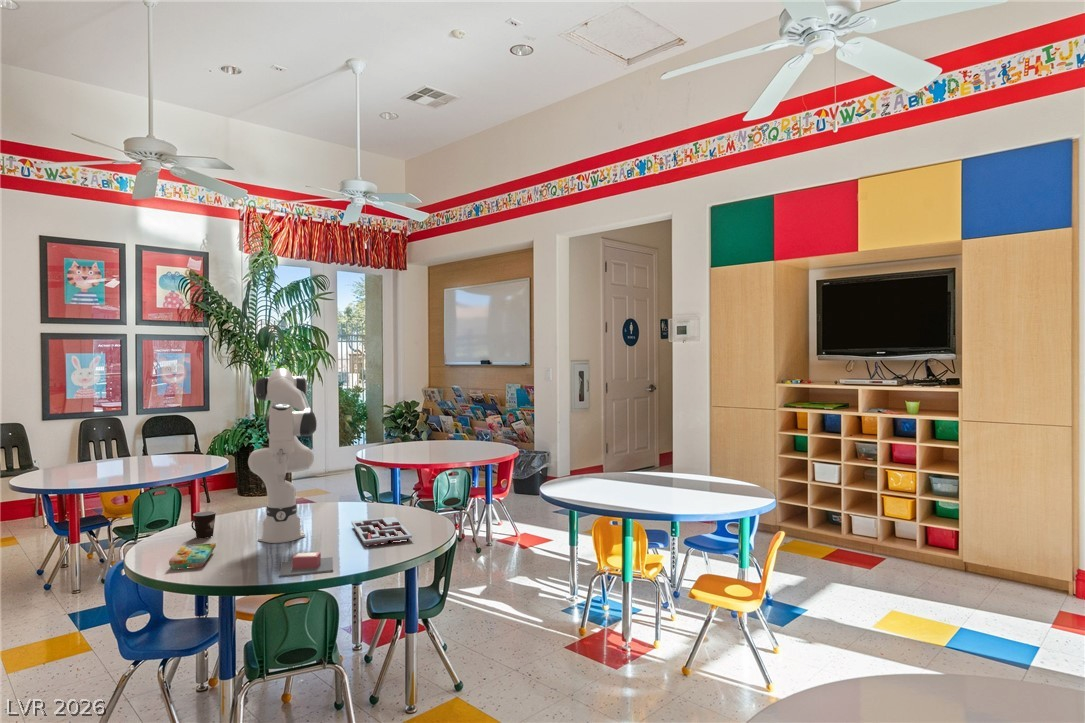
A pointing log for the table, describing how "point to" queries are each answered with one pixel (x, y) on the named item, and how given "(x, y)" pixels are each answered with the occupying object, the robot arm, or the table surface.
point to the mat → (323, 567)
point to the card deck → (306, 560)
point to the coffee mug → (204, 523)
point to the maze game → (374, 537)
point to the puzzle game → (192, 556)
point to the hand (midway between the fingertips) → (281, 484)
